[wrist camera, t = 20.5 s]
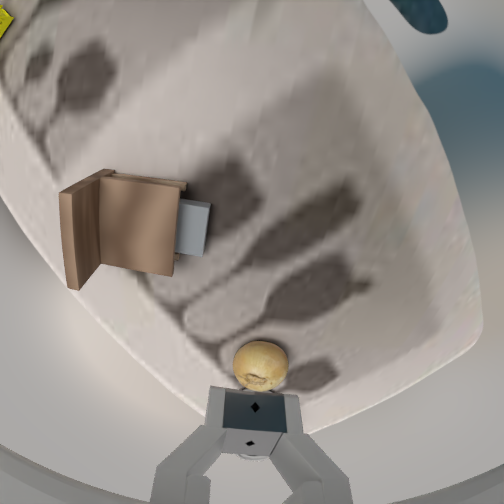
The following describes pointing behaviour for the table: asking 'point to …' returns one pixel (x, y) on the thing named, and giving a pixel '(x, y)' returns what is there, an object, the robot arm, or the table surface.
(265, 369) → the onion
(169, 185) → the tan bookend
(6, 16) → the yellow toy chassis
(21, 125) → the table surface
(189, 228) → the two-tone tall prism
